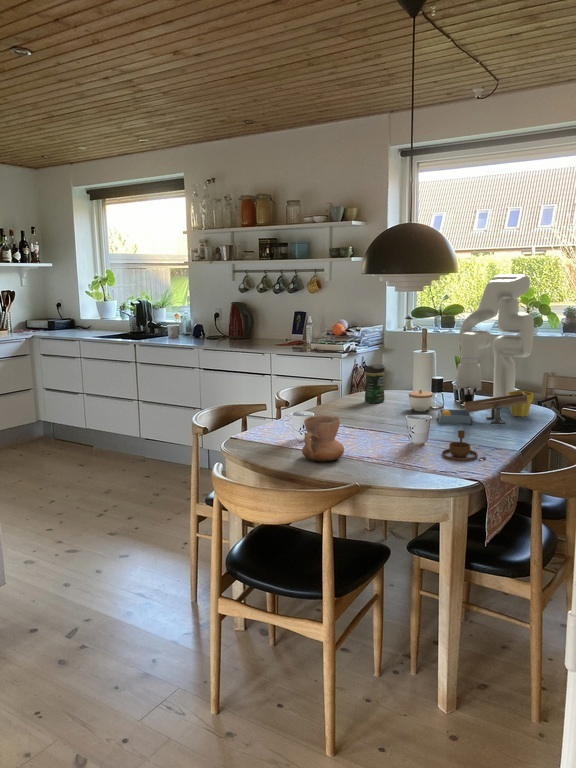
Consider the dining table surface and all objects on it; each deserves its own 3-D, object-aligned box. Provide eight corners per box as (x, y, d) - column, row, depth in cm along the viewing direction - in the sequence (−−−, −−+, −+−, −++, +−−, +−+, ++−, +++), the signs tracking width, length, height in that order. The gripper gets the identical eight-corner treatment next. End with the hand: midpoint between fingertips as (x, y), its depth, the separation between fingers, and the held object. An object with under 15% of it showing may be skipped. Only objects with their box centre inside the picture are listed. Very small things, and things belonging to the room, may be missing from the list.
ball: (451, 410, 266) (448, 419, 267) (442, 407, 266) (439, 416, 267) (452, 413, 262) (449, 421, 263) (443, 409, 262) (440, 418, 263)
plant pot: (503, 412, 277) (504, 391, 275) (526, 412, 277) (527, 390, 275) (512, 418, 266) (513, 395, 265) (536, 417, 267) (537, 395, 265)
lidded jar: (430, 407, 291) (431, 387, 289) (433, 412, 280) (434, 392, 279) (407, 407, 292) (407, 387, 290) (409, 412, 281) (409, 392, 280)
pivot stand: (486, 417, 268) (486, 399, 266) (500, 418, 267) (501, 399, 266) (490, 424, 257) (490, 405, 255) (505, 424, 256) (506, 405, 254)
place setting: (427, 456, 218) (427, 440, 217) (458, 444, 231) (458, 429, 230) (472, 467, 205) (473, 449, 204) (502, 453, 219) (503, 437, 218)
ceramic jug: (322, 449, 228) (320, 411, 225) (354, 455, 218) (353, 416, 216) (289, 462, 215) (287, 422, 212) (322, 469, 205) (321, 427, 203)
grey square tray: (437, 417, 272) (438, 409, 271) (466, 417, 270) (467, 409, 269) (440, 423, 260) (440, 415, 259) (470, 424, 258) (470, 416, 257)
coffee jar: (374, 404, 299) (374, 366, 296) (362, 402, 305) (362, 364, 301) (387, 401, 305) (387, 364, 302) (375, 399, 311) (375, 362, 308)
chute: (463, 404, 275) (462, 396, 274) (520, 395, 270) (519, 387, 270) (467, 412, 260) (466, 404, 259) (527, 403, 255) (526, 394, 255)
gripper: (486, 360, 270) (484, 401, 273) (450, 360, 273) (449, 401, 276) (488, 362, 263) (487, 405, 266) (452, 362, 265) (451, 404, 269)
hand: (467, 403), depth 271 cm, fingers closed
